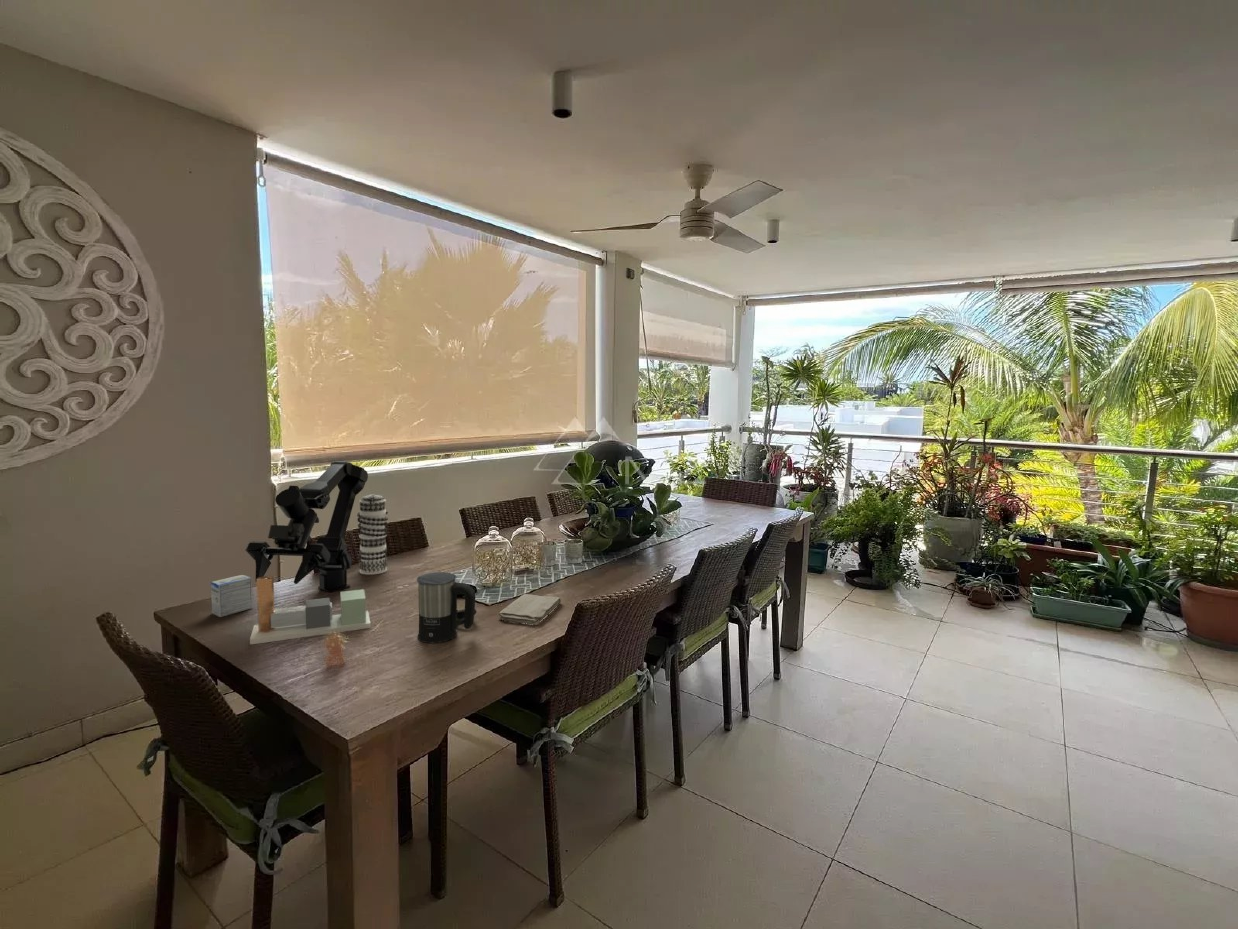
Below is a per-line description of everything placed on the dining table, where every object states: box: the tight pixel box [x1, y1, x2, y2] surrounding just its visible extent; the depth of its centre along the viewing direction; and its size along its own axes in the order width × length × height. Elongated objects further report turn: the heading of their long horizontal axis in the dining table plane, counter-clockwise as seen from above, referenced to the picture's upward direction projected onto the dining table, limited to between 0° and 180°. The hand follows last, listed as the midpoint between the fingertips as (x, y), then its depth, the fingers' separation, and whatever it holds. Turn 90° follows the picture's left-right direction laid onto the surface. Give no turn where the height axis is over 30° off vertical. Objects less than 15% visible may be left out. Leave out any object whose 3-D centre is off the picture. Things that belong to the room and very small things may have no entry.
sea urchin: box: [314, 630, 356, 669], centre depth 122 cm, size 12×12×8 cm
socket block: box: [339, 588, 367, 625], centre depth 144 cm, size 6×7×6 cm
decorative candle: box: [356, 494, 389, 575], centre depth 186 cm, size 9×9×25 cm
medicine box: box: [210, 574, 253, 618], centre depth 149 cm, size 8×4×9 cm, turn 149°
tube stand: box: [249, 597, 372, 645], centre depth 140 cm, size 26×9×7 cm, turn 117°
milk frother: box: [416, 571, 477, 644], centre depth 142 cm, size 14×16×15 cm
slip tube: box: [255, 575, 333, 631], centre depth 138 cm, size 16×3×12 cm, turn 117°
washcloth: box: [498, 593, 562, 626], centre depth 157 cm, size 12×18×3 cm, turn 167°
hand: (276, 582), depth 139 cm, fingers open, 9 cm apart
